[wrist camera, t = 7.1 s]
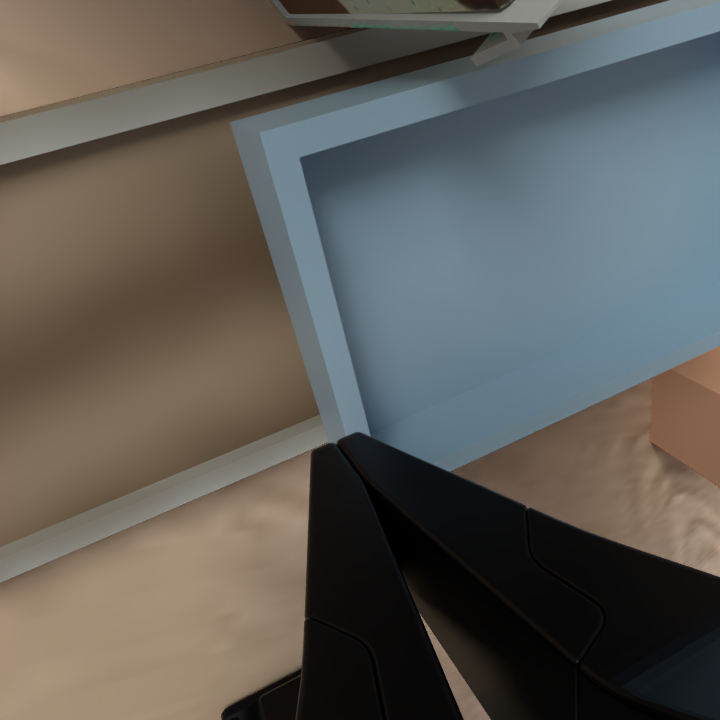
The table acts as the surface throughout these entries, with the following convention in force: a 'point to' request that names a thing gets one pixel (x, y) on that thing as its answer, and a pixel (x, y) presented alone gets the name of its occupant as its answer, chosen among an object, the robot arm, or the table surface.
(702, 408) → the block
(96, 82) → the table surface
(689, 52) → the cart
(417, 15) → the food container
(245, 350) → the track
